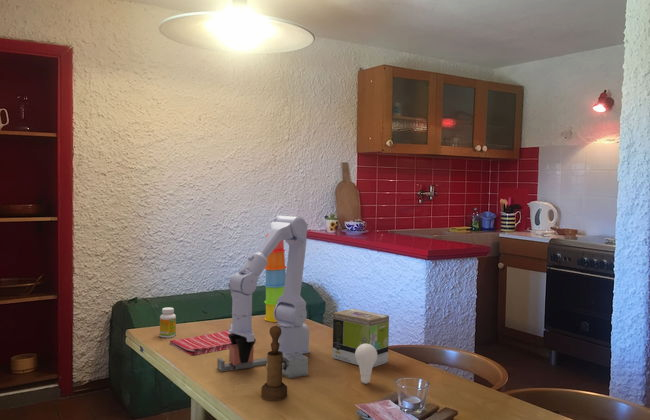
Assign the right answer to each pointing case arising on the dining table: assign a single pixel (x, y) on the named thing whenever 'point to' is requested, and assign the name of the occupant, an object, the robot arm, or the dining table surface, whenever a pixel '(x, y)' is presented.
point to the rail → (229, 366)
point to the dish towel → (203, 343)
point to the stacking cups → (274, 279)
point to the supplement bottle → (167, 323)
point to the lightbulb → (365, 360)
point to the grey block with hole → (295, 365)
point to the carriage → (235, 357)
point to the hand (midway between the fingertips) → (241, 359)
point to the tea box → (360, 334)
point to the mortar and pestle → (274, 370)
